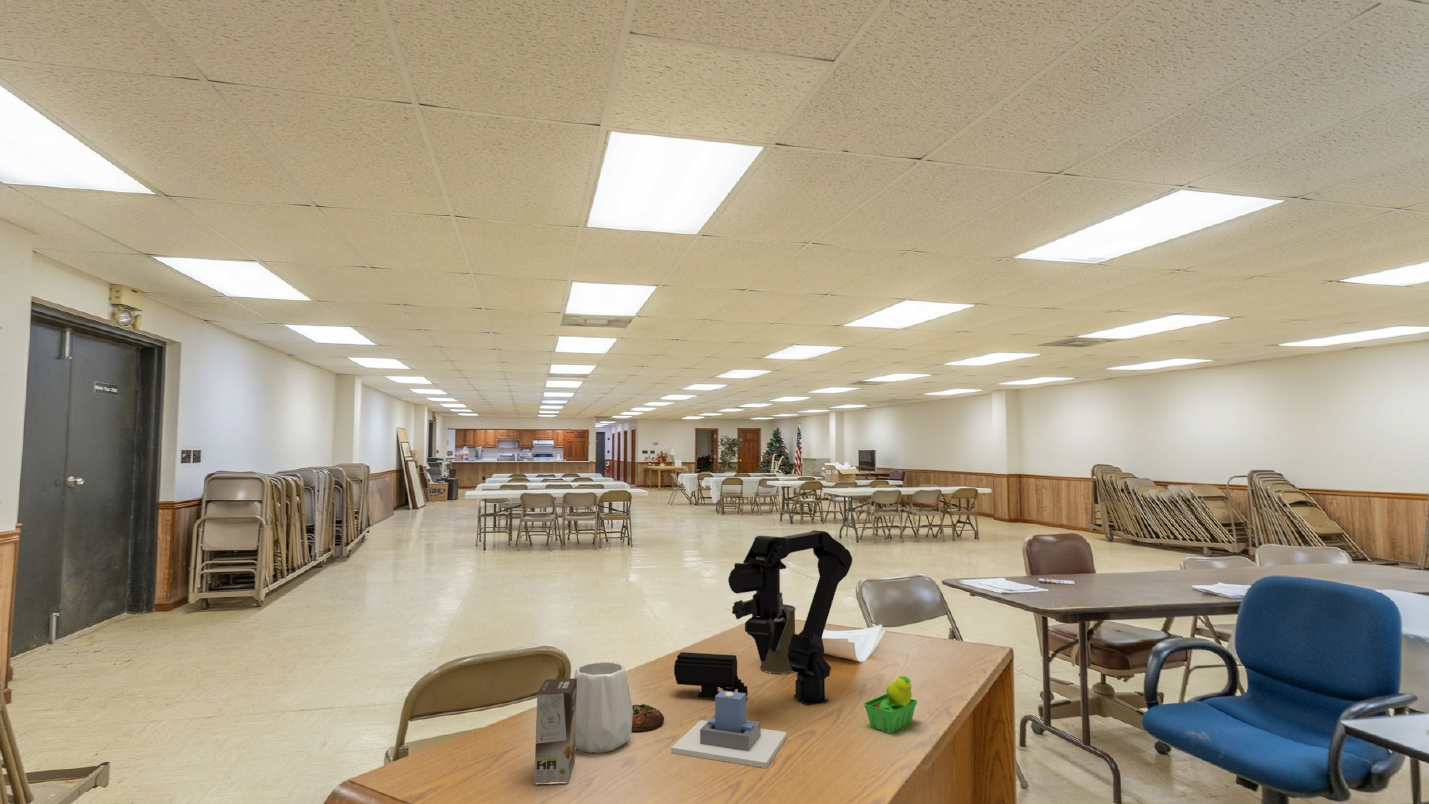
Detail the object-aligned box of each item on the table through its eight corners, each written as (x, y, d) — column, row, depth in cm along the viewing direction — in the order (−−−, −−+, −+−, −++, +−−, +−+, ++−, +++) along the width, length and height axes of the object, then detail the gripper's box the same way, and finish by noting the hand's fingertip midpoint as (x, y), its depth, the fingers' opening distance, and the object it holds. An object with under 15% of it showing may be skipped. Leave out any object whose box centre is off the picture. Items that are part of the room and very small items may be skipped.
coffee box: (569, 784, 120) (571, 692, 121) (533, 785, 119) (536, 693, 121) (575, 762, 129) (577, 677, 131) (542, 763, 128) (544, 678, 130)
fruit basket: (889, 714, 155) (888, 664, 156) (924, 724, 149) (922, 672, 150) (862, 727, 147) (861, 674, 148) (898, 738, 141) (896, 683, 142)
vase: (602, 762, 129) (603, 682, 130) (550, 747, 136) (552, 671, 138) (646, 738, 141) (647, 664, 142) (596, 725, 148) (597, 655, 150)
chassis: (671, 752, 133) (671, 732, 134) (700, 724, 148) (700, 706, 149) (766, 768, 126) (766, 747, 127) (787, 737, 141) (786, 718, 142)
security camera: (744, 703, 162) (744, 661, 163) (672, 698, 165) (672, 657, 166) (749, 694, 168) (748, 654, 169) (679, 689, 172) (679, 650, 173)
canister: (761, 662, 196) (761, 594, 199) (796, 664, 195) (795, 595, 197) (758, 673, 186) (758, 601, 188) (795, 675, 184) (795, 602, 186)
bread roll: (664, 731, 144) (661, 707, 145) (613, 740, 143) (610, 716, 144) (665, 715, 155) (662, 693, 156) (618, 723, 154) (616, 701, 155)
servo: (706, 740, 137) (706, 692, 138) (712, 732, 141) (713, 686, 142) (749, 746, 134) (749, 697, 135) (755, 739, 138) (755, 691, 139)
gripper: (747, 581, 170) (747, 643, 168) (723, 593, 153) (723, 662, 151) (789, 584, 166) (790, 647, 164) (770, 596, 149) (770, 668, 147)
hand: (768, 656), depth 157 cm, fingers open, 9 cm apart
